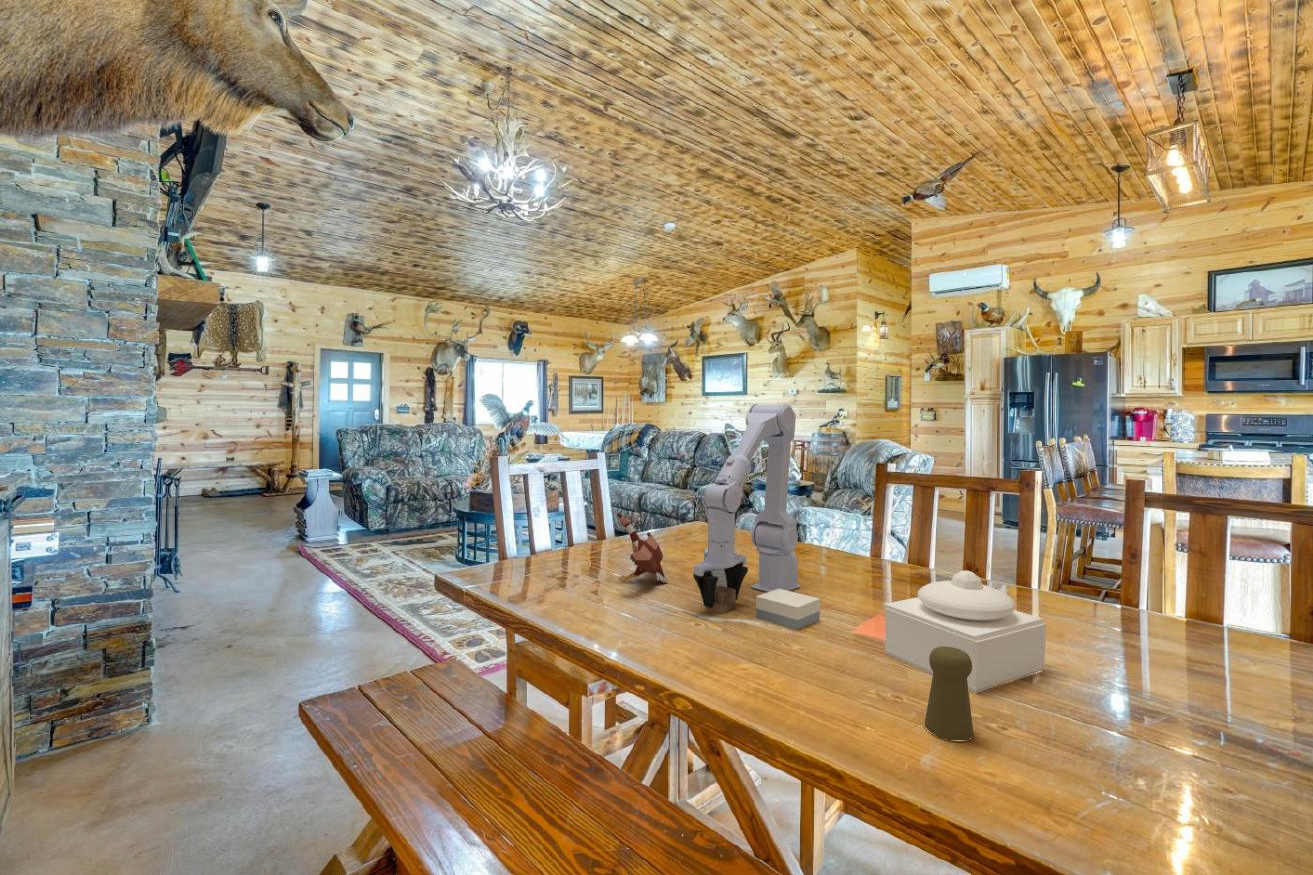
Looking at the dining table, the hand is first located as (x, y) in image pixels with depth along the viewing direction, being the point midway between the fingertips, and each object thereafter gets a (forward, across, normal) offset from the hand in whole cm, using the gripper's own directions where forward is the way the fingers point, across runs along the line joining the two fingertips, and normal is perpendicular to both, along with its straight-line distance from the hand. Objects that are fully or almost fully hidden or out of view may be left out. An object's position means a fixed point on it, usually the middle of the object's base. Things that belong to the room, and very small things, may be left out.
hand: (720, 602), depth 133 cm
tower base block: (+2, -6, +13) cm, 14 cm away
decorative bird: (+2, -1, -27) cm, 27 cm away
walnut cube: (+2, 0, 0) cm, 2 cm away
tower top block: (0, -6, +13) cm, 14 cm away
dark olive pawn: (+2, +14, +54) cm, 56 cm away
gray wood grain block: (+2, -13, -12) cm, 18 cm away
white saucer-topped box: (+2, -11, +46) cm, 47 cm away
